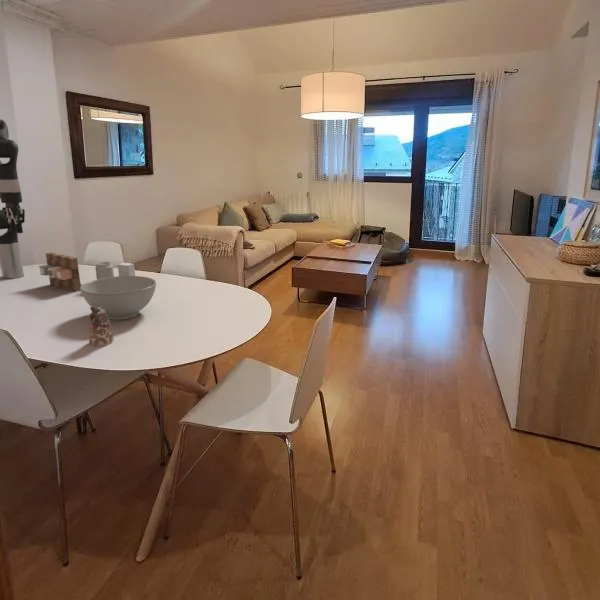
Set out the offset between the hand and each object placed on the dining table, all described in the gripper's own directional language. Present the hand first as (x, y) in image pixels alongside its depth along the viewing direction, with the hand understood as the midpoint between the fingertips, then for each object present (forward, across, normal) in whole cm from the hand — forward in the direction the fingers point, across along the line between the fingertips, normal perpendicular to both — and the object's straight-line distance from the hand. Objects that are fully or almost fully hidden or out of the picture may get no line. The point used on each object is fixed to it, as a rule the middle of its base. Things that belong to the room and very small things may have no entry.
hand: (17, 232), depth 191 cm
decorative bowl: (+28, +57, +6) cm, 64 cm away
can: (+27, +19, +26) cm, 42 cm away
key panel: (+27, +2, +18) cm, 33 cm away
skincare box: (+27, +29, +30) cm, 50 cm away
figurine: (+28, +76, -15) cm, 82 cm away
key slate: (+21, -5, +13) cm, 25 cm away
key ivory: (+21, +2, +13) cm, 25 cm away
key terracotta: (+21, +9, +13) cm, 27 cm away
